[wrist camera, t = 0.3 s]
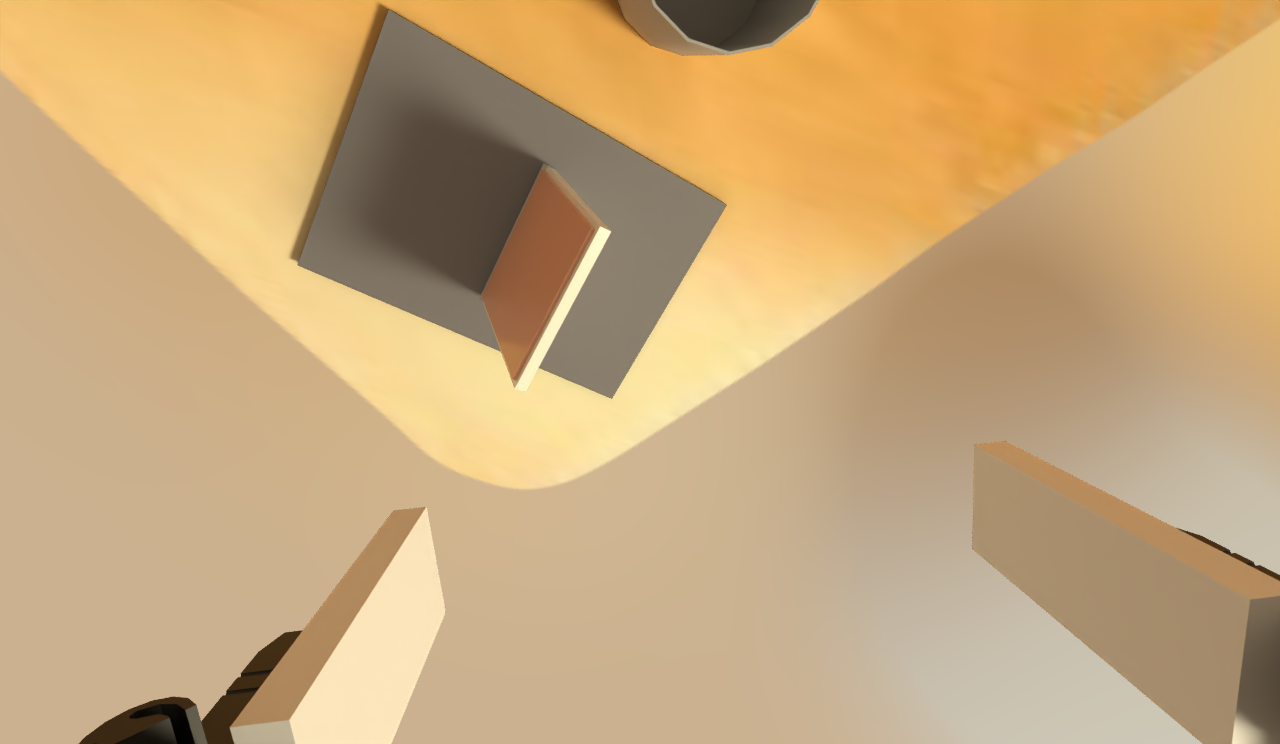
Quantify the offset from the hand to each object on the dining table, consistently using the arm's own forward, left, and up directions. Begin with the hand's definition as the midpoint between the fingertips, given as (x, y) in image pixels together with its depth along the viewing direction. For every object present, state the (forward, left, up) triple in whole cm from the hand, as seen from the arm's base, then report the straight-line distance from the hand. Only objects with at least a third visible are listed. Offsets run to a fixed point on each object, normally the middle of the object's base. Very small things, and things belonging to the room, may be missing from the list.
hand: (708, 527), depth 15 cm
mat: (+2, -5, -27) cm, 28 cm away
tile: (+2, -3, -22) cm, 22 cm away
